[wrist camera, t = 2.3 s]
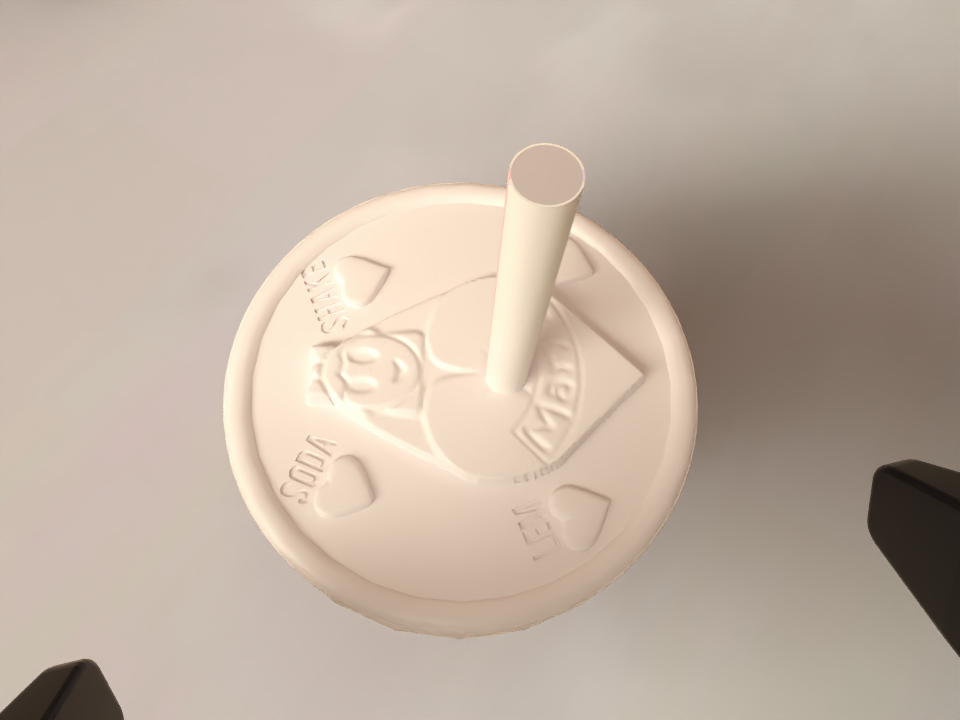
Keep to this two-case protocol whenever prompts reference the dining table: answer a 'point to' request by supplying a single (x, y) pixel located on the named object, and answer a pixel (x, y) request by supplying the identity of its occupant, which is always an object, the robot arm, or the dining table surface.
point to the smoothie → (462, 404)
